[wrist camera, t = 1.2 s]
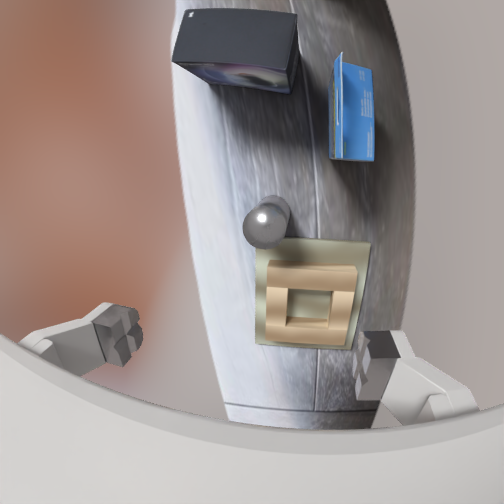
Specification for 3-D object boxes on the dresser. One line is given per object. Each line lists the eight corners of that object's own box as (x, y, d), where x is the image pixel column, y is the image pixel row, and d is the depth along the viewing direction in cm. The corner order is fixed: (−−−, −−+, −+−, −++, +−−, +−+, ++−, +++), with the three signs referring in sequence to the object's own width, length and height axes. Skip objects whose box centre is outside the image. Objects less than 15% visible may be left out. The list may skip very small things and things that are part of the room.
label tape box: (359, 161, 29) (391, 165, 18) (325, 158, 30) (338, 159, 18) (359, 89, 26) (387, 56, 15) (325, 86, 27) (336, 48, 15)
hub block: (256, 235, 34) (251, 243, 31) (369, 241, 32) (375, 250, 29) (256, 340, 40) (252, 354, 37) (350, 346, 37) (352, 360, 34)
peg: (256, 194, 33) (242, 206, 25) (290, 196, 32) (286, 208, 24) (256, 227, 34) (242, 248, 27) (289, 229, 33) (285, 250, 26)
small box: (205, 86, 29) (166, 63, 19) (216, 42, 27) (183, 7, 17) (291, 97, 28) (285, 71, 18) (301, 50, 26) (298, 10, 16)
